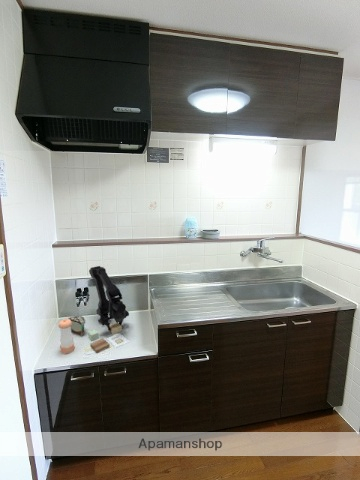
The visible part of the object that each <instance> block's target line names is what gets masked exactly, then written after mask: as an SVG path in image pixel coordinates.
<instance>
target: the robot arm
mask: <svg viewBox="0 0 360 480" xmlns="http://www.w3.org/2000/svg"><path fill="white" fill-rule="evenodd" d="M88 272H89V275H90V278H92V279H93V281H94V284H95V288H96V293H97V297H98V304H97V306H98V308H97V309H96V315H98V316H99V318H98V320H97V321H98V323H100V324H101V325H102V326H106V328H107V330H108V332H110V324H111V323H110V322H111V321H113V320H114V321H115V323H119V324H120V325H121V326H122V324H123V322H124V320H125V319H126V318H127V317H129V316H130V312H129V311H128V310H127V309H126V308H127V307H126V304H124V303H123V301H121V300H123V295H122V293H121V290H120V289H119V287H118V286H117V285H116V284H114V283H113V282H112V280H111V278H110V276H109V275H108V273H107V271H106V268H105V267H104V266H101V265H98V266H97V265H96V266H93V267H90V269H89V271H88Z"/></svg>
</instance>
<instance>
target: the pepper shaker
mask: <svg viewBox="0 0 360 480" xmlns="http://www.w3.org/2000/svg"><path fill="white" fill-rule="evenodd" d="M71 325H72V321H71V320H70V319H68V318H64V319H61V320H60V321H59V322H58V325H57V326H58V328H59V331H60V340H59V341H60V346H59V348H60V353H61V354H63V355H65V354H70V353H72V352H73V351H74V350H75V343H74V336H73V333H72V332H71Z"/></svg>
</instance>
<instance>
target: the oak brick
mask: <svg viewBox="0 0 360 480" xmlns="http://www.w3.org/2000/svg"><path fill="white" fill-rule="evenodd" d="M122 328H123V327H122V325H120V324H119V322H118V323H116V322H114V323H110V331H109V333H111V334H112V335H115V334H118V333H120V332H122V330H123V329H122Z"/></svg>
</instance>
